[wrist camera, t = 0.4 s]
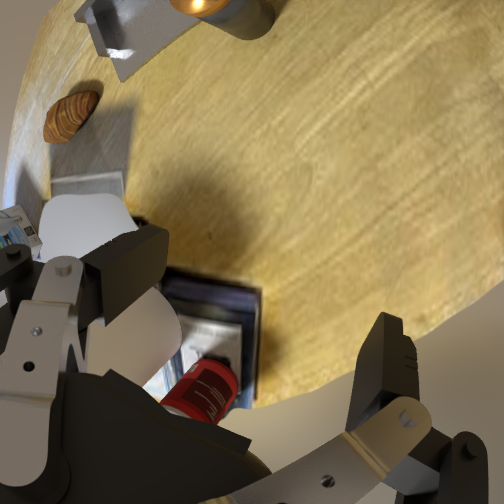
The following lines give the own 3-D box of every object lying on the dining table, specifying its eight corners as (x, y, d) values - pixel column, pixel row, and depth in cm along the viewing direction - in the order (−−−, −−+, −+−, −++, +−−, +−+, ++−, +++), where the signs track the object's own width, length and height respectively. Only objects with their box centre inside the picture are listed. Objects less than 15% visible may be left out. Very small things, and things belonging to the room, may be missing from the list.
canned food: (194, 387, 47) (155, 434, 38) (191, 349, 44) (146, 398, 35) (239, 404, 45) (204, 457, 35) (241, 367, 42) (201, 424, 32)
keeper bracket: (99, 19, 31) (73, 14, 27) (166, -41, 25) (142, -53, 21) (123, 82, 33) (96, 81, 29) (202, 20, 27) (177, 10, 23)
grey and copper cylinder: (252, -12, 24) (201, -52, 16) (286, 16, 24) (244, -24, 16) (217, 21, 27) (157, -7, 18) (248, 50, 27) (193, 25, 18)
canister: (195, 357, 44) (107, 455, 27) (134, 355, 51) (53, 428, 33) (158, 272, 41) (38, 355, 24) (100, 283, 47) (1, 346, 30)
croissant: (58, 157, 43) (32, 163, 38) (48, 120, 41) (23, 123, 37) (108, 117, 36) (79, 120, 32) (96, 75, 35) (68, 74, 30)
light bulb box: (43, 243, 51) (-2, 264, 42) (37, 262, 55) (-5, 283, 45) (19, 201, 51) (-25, 218, 42) (14, 222, 54) (-27, 239, 45)
